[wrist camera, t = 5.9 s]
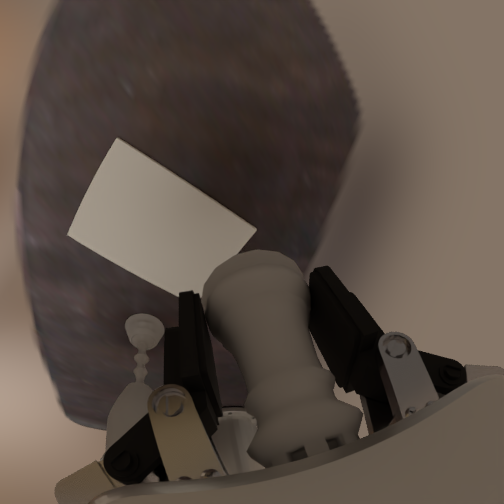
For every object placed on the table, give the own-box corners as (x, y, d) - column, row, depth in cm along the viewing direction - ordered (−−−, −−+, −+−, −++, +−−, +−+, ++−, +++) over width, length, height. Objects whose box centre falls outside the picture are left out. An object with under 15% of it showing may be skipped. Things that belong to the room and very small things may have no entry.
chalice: (120, 300, 29) (95, 449, 14) (177, 312, 31) (185, 462, 16) (116, 342, 32) (102, 472, 17) (166, 352, 34) (171, 481, 19)
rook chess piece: (294, 321, 14) (363, 464, 7) (204, 331, 13) (232, 499, 6) (306, 240, 11) (427, 399, 5) (196, 247, 11) (225, 463, 4)
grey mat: (255, 227, 28) (256, 230, 28) (194, 302, 31) (194, 305, 31) (118, 137, 21) (116, 137, 21) (68, 232, 24) (67, 234, 23)
